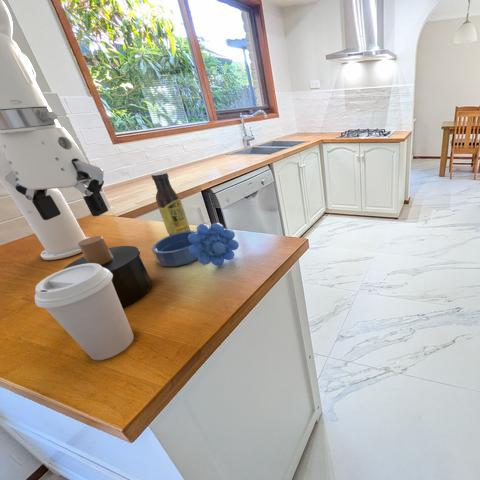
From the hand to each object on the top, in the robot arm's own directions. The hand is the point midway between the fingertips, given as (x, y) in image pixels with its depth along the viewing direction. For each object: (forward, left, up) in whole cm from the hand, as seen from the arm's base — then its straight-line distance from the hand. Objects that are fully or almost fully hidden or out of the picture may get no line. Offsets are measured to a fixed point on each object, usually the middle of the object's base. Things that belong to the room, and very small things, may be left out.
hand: (76, 215), depth 56 cm
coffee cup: (+14, -11, -20) cm, 26 cm away
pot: (0, 0, -20) cm, 20 cm away
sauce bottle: (-12, +28, -20) cm, 36 cm away
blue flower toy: (+15, +16, -20) cm, 30 cm away
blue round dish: (0, +18, -20) cm, 27 cm away
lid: (0, 0, -11) cm, 11 cm away
